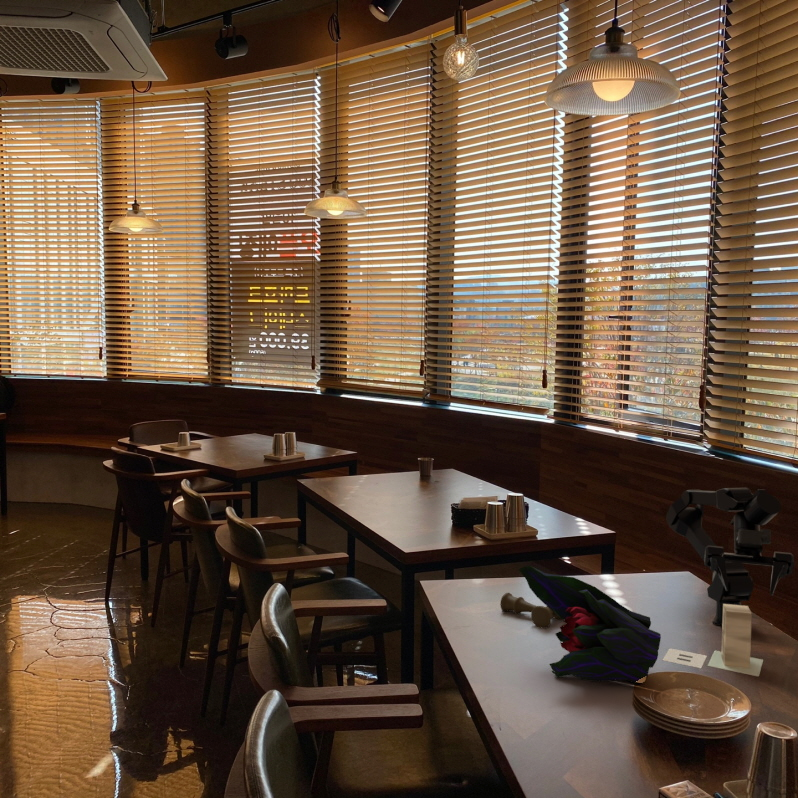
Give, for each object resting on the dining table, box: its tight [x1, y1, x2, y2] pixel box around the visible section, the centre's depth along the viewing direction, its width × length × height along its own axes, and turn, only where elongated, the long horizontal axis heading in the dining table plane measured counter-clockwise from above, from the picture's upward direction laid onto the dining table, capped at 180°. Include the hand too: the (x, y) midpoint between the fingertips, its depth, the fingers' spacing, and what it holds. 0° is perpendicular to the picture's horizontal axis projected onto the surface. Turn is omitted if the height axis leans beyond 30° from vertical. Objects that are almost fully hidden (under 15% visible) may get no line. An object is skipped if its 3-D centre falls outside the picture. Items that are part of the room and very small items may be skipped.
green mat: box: [707, 650, 764, 677], centre depth 163 cm, size 10×10×1 cm
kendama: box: [499, 592, 564, 629], centre depth 190 cm, size 6×10×20 cm
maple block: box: [721, 604, 753, 668], centre depth 163 cm, size 5×5×12 cm
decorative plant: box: [518, 565, 662, 684], centre depth 158 cm, size 21×26×30 cm
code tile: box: [662, 648, 708, 669], centre depth 166 cm, size 8×8×1 cm
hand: (749, 592), depth 170 cm, fingers open, 9 cm apart
